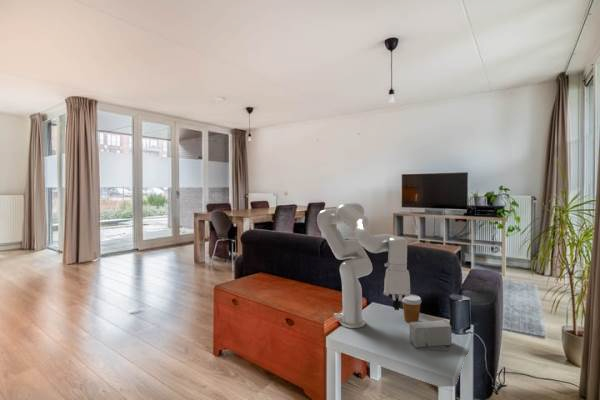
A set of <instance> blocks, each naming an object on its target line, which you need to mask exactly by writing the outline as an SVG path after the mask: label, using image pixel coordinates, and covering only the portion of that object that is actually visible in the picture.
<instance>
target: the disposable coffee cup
mask: <svg viewBox="0 0 600 400" xmlns="http://www.w3.org/2000/svg"><path fill="white" fill-rule="evenodd" d="M422 301H423V300H422V299H421V296H419V295H417V294H411V293H410V296H408V297H404V298H403V299H402V300H401V303H402V309H403V316H404V321H405V323H408V324H410V322H419V319H420V311H421V303H422Z"/></svg>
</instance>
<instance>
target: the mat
mask: <svg viewBox="0 0 600 400" xmlns="http://www.w3.org/2000/svg"><path fill="white" fill-rule="evenodd" d="M416 349H417V350H422V351H438V352H442V351H443V352H449V348H448V347H447V345H443V346H428V347H416Z"/></svg>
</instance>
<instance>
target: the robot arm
mask: <svg viewBox="0 0 600 400" xmlns="http://www.w3.org/2000/svg"><path fill="white" fill-rule="evenodd" d="M316 222H317V227H318V229H319V231H320V232H321V234H322V235H323V237H324V239H325V240H326V241H327V244H328V246H329V247H330V249H331V251H332V253H333V255H334V257H335V258H336V259H337V260H341V261H342V260H344V261H342V263H341V264H340V265H339V274H340V278H341V279H340V280H341V292H342V293H341V295H342V299H341V300H342V301H341V303H342V311H341V312H340V313H338V312H337V313H336V312H334V313H333V318H335V319H336V320H339V323H340V325H341V326H343V327H345V328H348V329H360V328H363V327H364V326H366V319H365V318H364V317H363V292H362V291H363V289H362V285H361V283H360V280H359V278H362V277H366V276H368V275H370V274H371V273H372V271H373V263H372V262H371V259H370V258H369V256H368V254H367V252H366V251H368V252H369V253H372V254H379V253H383V252H384V253H385V252H387V253H388V254H387V255H388V256H387V257H388V258H387V262H384V267H386V269H385V273H384V281H383V282H384V283H383V287H384V290H383V291H382V292H383V295H385V296H388V297H390V298H391V299H392V304H391V305H392V307H393V309H394V311H399V310H400V308H401V302H402V299H403V298H404V297H408V296H410V294H411V279H410V278H411V277H410V272H409V271H410V270H408V269H407V266H408V264H407V263H408V240H407V238H405V237H402V236H395V235H394V234H391V233H382V234H381V233H380V234H375V235H374V234H371V232H369V231H368V230H367V228H368V225H369V219H368V217H366V216H365V209H364V207H363V206H362V204H360V203H358V202H352V203H351V202H349V203H343V204H339V206H338V207H333V208H325V209H323V210H322V209H321V211H319V212H318V214H317V217H316ZM338 224H346V225H347V226H348V227H349V228H350V229H352V231H354V235H355V239H353V238H350V239H346V238H344V236H343V234H342V232H341V231H340V230H339V229H338V228H337V227H335V225H338ZM396 295H397V297H396Z"/></svg>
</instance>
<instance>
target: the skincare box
mask: <svg viewBox="0 0 600 400" xmlns="http://www.w3.org/2000/svg"><path fill="white" fill-rule="evenodd" d="M409 341H410V343H412V345H413V346H414V347H415V348H417V347H428V346H443V345H446V346H452V345H453V343H452V325H450V324H449V323H448V322H446V321H445V320H443V319H441V320H428V321H426V320H425V321H418V322H410V323H409Z"/></svg>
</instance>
